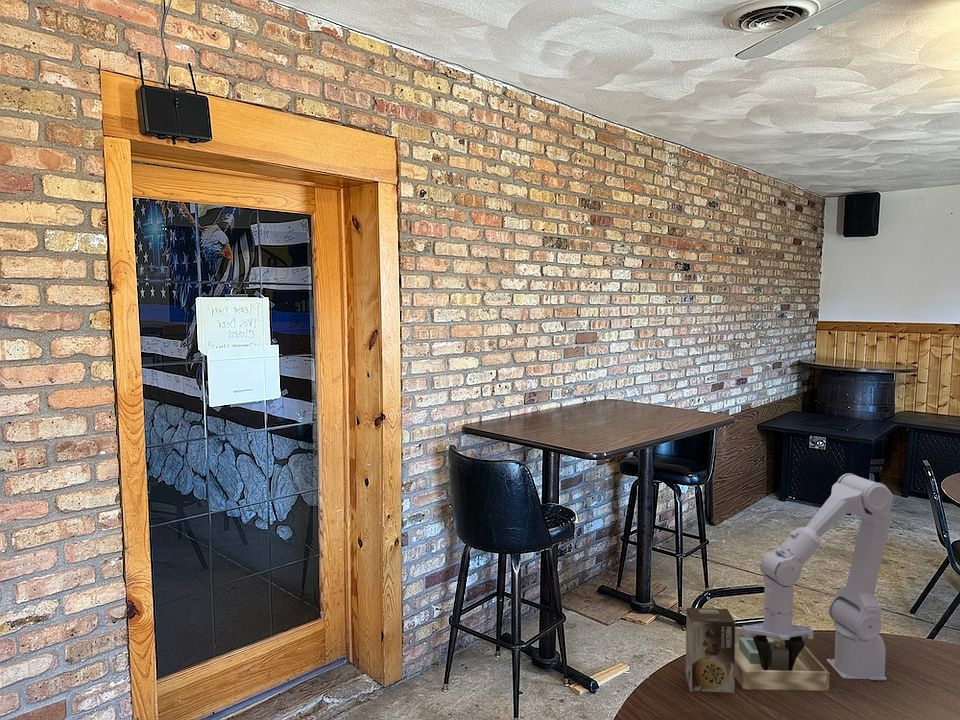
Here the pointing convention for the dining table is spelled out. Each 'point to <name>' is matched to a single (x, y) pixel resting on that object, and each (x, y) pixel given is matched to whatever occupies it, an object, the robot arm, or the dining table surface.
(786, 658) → the plug
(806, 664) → the walled box
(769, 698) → the dining table surface
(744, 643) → the socket
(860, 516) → the robot arm
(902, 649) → the dining table surface
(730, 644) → the coffee box
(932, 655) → the dining table surface
